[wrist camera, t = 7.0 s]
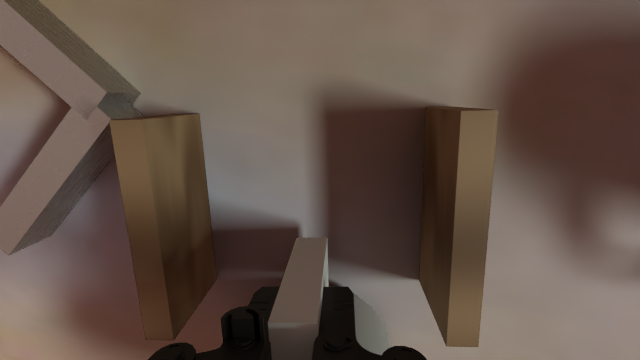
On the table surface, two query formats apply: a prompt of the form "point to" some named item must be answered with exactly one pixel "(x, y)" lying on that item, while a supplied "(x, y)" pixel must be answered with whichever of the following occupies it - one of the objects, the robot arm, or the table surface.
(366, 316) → the can
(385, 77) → the table surface
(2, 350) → the table surface
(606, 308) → the table surface
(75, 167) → the v block
